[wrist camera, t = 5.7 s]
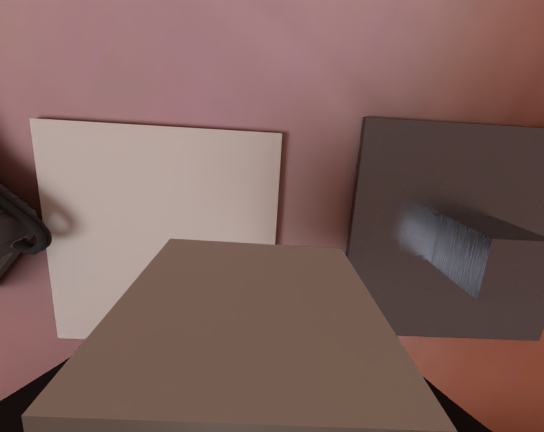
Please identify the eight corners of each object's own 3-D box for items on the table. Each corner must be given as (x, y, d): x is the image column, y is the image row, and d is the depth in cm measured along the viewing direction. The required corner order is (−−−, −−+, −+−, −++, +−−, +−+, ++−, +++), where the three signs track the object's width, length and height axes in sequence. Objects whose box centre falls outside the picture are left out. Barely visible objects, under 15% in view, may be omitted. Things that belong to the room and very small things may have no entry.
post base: (532, 335, 20) (607, 393, 16) (336, 328, 19) (357, 386, 15) (595, 131, 17) (710, 133, 12) (363, 117, 16) (399, 113, 12)
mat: (268, 340, 20) (268, 345, 19) (63, 332, 19) (57, 338, 19) (281, 133, 16) (282, 133, 16) (36, 118, 16) (29, 118, 15)
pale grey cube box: (322, 388, 11) (387, 682, 5) (171, 382, 11) (63, 680, 5) (341, 248, 10) (458, 431, 4) (170, 238, 9) (22, 415, 4)
